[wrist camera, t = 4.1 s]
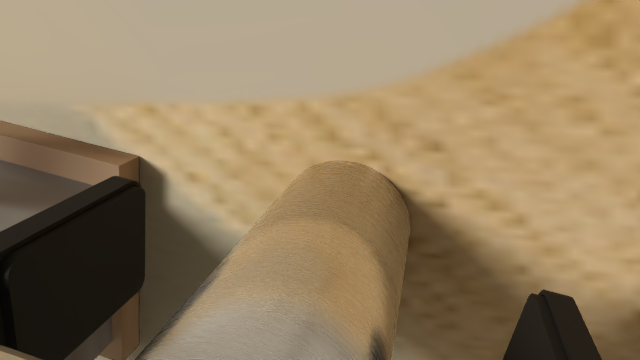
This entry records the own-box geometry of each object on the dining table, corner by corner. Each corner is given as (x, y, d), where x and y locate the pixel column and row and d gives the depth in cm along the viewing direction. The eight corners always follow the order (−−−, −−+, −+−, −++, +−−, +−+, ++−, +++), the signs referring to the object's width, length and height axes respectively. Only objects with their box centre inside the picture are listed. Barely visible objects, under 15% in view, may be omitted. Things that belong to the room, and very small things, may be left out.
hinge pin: (424, 179, 12) (380, 620, 3) (393, 295, 14) (305, 813, 5) (289, 147, 13) (-48, 443, 4) (273, 261, 15) (3, 661, 6)
